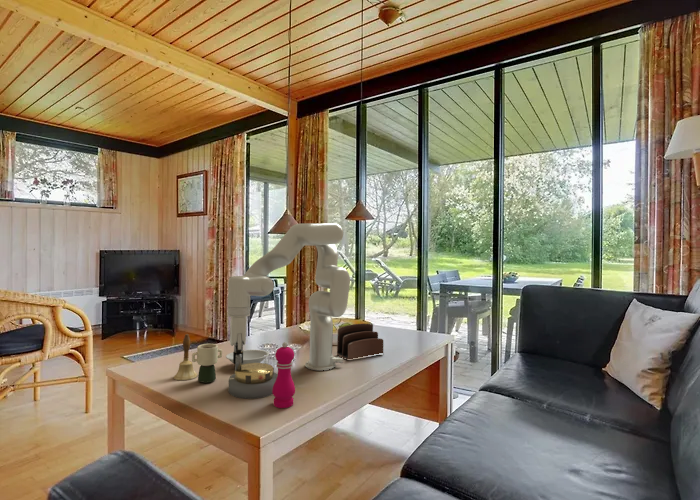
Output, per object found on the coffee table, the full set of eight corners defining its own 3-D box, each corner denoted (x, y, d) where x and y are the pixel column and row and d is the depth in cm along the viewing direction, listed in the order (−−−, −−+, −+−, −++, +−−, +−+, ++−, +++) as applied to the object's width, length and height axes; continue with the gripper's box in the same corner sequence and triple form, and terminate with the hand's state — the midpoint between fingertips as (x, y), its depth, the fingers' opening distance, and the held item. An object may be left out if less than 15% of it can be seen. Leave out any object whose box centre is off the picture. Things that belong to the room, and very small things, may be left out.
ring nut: (268, 369, 146) (268, 346, 146) (278, 380, 134) (278, 356, 134) (231, 373, 140) (232, 350, 140) (238, 385, 128) (239, 360, 128)
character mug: (218, 375, 149) (218, 341, 149) (225, 381, 144) (225, 346, 144) (188, 381, 143) (189, 345, 142) (194, 387, 137) (195, 350, 137)
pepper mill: (267, 406, 123) (269, 343, 123) (279, 398, 130) (281, 338, 129) (287, 410, 120) (289, 346, 120) (298, 402, 127) (300, 340, 127)
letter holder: (336, 355, 181) (337, 325, 181) (371, 350, 192) (372, 321, 192) (347, 361, 173) (348, 329, 173) (383, 355, 183) (384, 325, 183)
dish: (230, 375, 151) (230, 362, 151) (221, 364, 163) (221, 352, 163) (274, 368, 160) (274, 356, 160) (262, 359, 172) (262, 347, 172)
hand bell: (173, 374, 149) (174, 332, 149) (197, 372, 153) (198, 331, 152) (173, 381, 142) (174, 338, 142) (197, 379, 145) (198, 336, 145)
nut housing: (280, 380, 146) (280, 369, 146) (276, 398, 130) (276, 385, 129) (233, 380, 145) (234, 369, 145) (223, 398, 128) (223, 386, 128)
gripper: (226, 308, 143) (225, 357, 144) (229, 315, 129) (228, 370, 130) (247, 307, 146) (246, 356, 146) (252, 314, 132) (251, 368, 132)
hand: (238, 363), depth 138 cm, fingers closed
